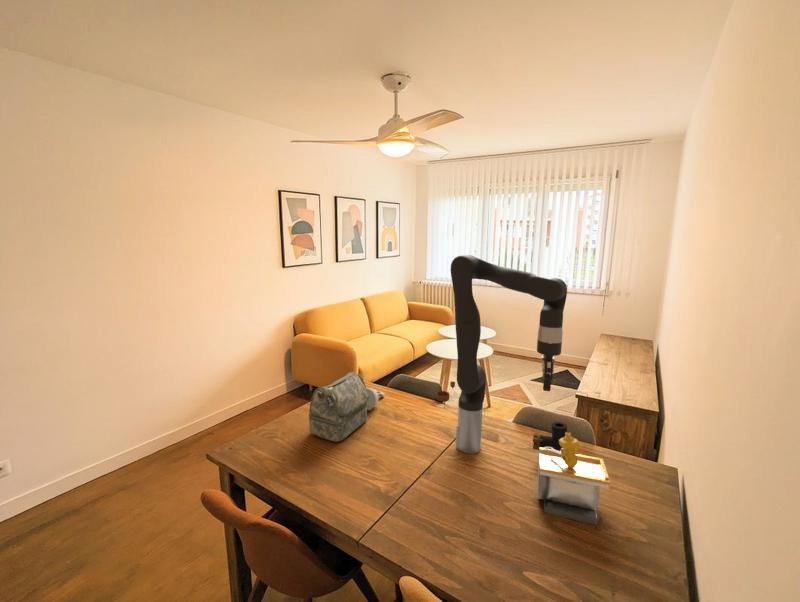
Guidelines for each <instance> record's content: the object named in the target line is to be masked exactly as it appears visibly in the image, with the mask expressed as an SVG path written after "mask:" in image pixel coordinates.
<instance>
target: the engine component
mask: <svg viewBox="0 0 800 602" xmlns="http://www.w3.org/2000/svg"><path fill="white" fill-rule="evenodd" d="M366 389H367V391H368V396H369V399H368V401H367V411H369V410H371V409H372V408H374V407H375V406H376V405H377V403H379V398H383V397H385V395H386V394H385V392H383V391H380V390H379V391H377V390H376V389H374V388H370V387H366Z"/></svg>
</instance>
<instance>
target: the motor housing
mask: <svg viewBox="0 0 800 602" xmlns="http://www.w3.org/2000/svg"><path fill="white" fill-rule="evenodd" d="M548 450H550V449H548ZM538 451H539V453H538V455H539V458H538V465H537V467H538V468H537V479H536V481H537V482H536V483H537V484H536V485H537V486H536V495H537V496H536V497H537V499H539V500H543V510H544V511H543V512H544V514H548V515H552V516H556V517H561V518H565V519H569V520H573V521H578V522H583V523H586V524H590V525H594V526H595V525H596V526H597V525H598V514H597V511H598V508H599V505H600V504H599V503H600V488H604V489H609V488H610V483H611V482H610V478H609V473H608V470H607V468H606V465H605V461H604V459H603V458H600V457H595V456H591V455H585V454H579V453H577V454H576V458H577V462H578V463H577V465H576V466H575V467H574V468H569V467H568V465H566V464H565V462H564V461H563V460H562V455H559V454H557V453H554V452H551V451H546V450H544V448H541V447H540V450H538ZM560 452H561V451H560ZM564 455H565V454H564Z"/></svg>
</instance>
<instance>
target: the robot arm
mask: <svg viewBox="0 0 800 602" xmlns="http://www.w3.org/2000/svg"><path fill="white" fill-rule="evenodd" d="M450 277H451V285H452V289H453V296H454V297H453V298H454V299H453V300H454V301H453V302H454V315H455V316H454V317H455V318H454V320H455V324H454V326H455V335H456V350H457V364H456V365H457V367H456V383H457V386H458V388H459V389H460V390H461V392H460V395H459V398H458V407H457V408H458V411H457V424H456V429H455V430H456V433H455V434H456V435H455V450H459V451H460V452H462V453H464V454H477V453H479V452H480V451H481V448H482V430H483V429H482V428H483V427H482V425H483V406H484V405H483V404H484V401H485V396H486V386H487V384H486V383H487V376H486V372H485V370H484V369H483V367H482V366H480V365H478V358H477V357H478V352H479V351H478V350H479V345H480V341H481V334H482V330H481V329H482V328H481V326H482V325H481V317H480V315H481V314H480V311H479V307H478V305H477V303H476V301H475V298H474V294H473V280H483V281H489V282H492V283H494V284H497V285H499V286H501V287H503V288H506V289H508V290H511V291H515V292H519V293H523V294H526V295H527V294H528V295H530V296H532V297H534V298H537V299H540V300H542V301H543V307H542V308H541V310H540V314H539V324H538V325H539V326H538V328H537V329H538V331H537V342H536V351H537V353H538V354H541V355H543V356H541V368H542V369H541V373H542V382H543V383H542V385H543V386H542V390H543V391H545V392H551V387H552V381H553V375H554V372H555V369H554V368H555V364H556V360H555V356H557V357H558V356H560V355H561V354H562V345H563V344H562V343H563V332H564V331H563V323H564V309H565V306H566V302H567V301H566V300H567V297H568V285H567V284H566V282H565V281H564V280H563V279H561V278H556V277H555V278H546V277H541V276H538V275H536V274H535V273H531V272H529V271H528V272H527V271H524V270H519V269H514V268H509V267H505V266H501V265H497V264H493V263H491V262H488V261H486V260H484V259H481V258H478V257H476V256H474V255H470V254H468V255H467V254H464V255H462V254H461V255H458V256H456V257H454V258H453V260H452V261H451V264H450Z"/></svg>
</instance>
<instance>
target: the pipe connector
mask: <svg viewBox="0 0 800 602" xmlns="http://www.w3.org/2000/svg"><path fill="white" fill-rule="evenodd" d="M566 432H568V426H567V424H566V423H564V422H562V421H561V422H560V421H557V422H552V423H551V436H550V435H549V436H548V435H543V434H537V433H533V437H532V443H533V445H532V450H535V451H539V450H540V447H541V448H544V447H552V448H553V449H555V450H558V451H561V448H563V447H561V446H560V444H559V440H560V439H561V438H563V437H565V433H566ZM546 449H551V448H546Z"/></svg>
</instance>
